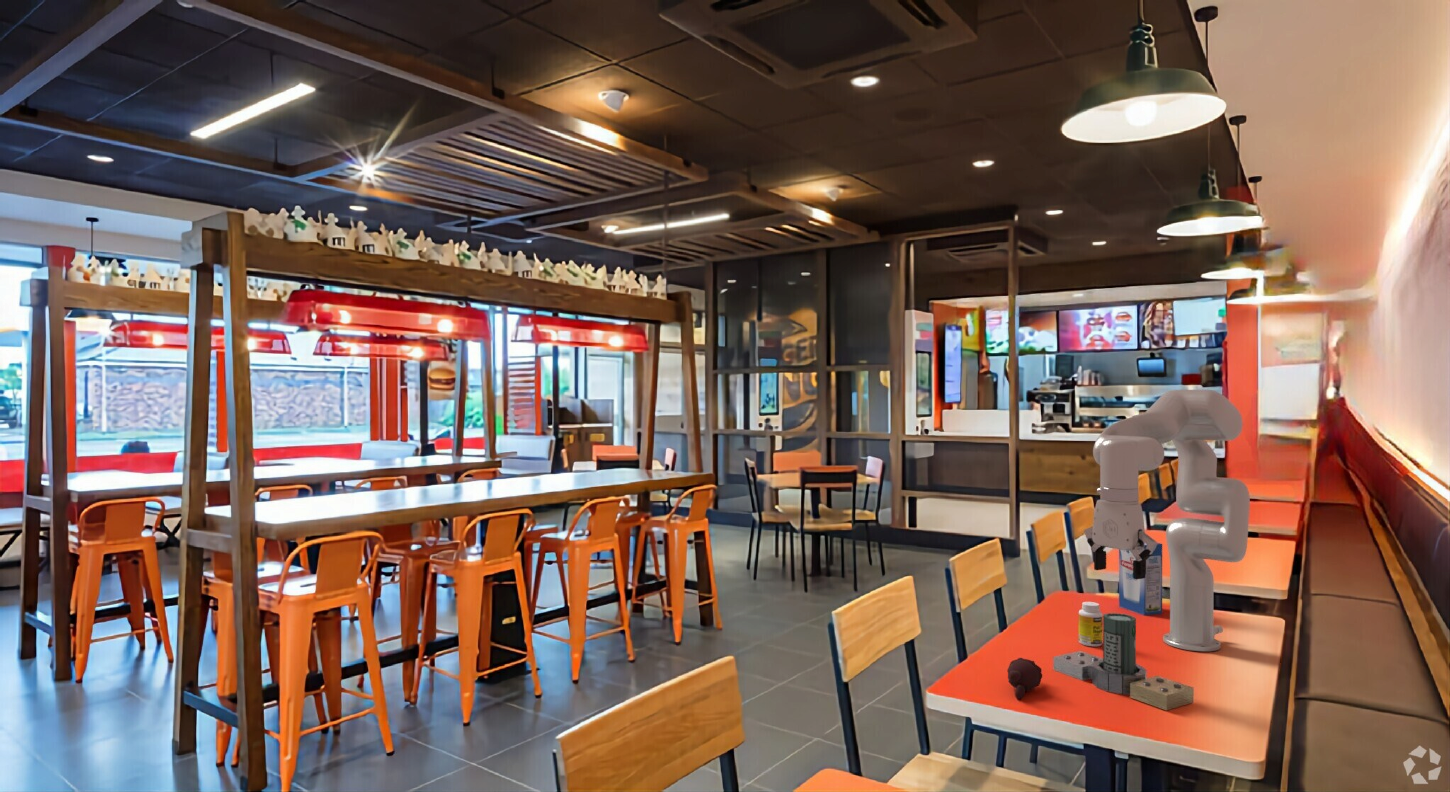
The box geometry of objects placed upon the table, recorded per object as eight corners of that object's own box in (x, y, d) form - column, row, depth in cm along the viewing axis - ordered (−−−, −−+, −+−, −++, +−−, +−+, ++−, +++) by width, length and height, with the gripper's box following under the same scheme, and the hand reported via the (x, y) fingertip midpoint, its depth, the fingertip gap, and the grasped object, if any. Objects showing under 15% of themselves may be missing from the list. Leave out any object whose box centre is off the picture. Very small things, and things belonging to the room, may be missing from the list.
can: (1140, 686, 179) (1140, 618, 179) (1124, 692, 176) (1124, 622, 176) (1114, 678, 184) (1114, 611, 184) (1098, 683, 181) (1098, 615, 181)
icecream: (1012, 647, 187) (992, 672, 175) (1045, 644, 183) (1027, 670, 170) (1021, 677, 186) (1001, 704, 174) (1054, 675, 182) (1036, 703, 170)
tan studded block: (1157, 689, 177) (1157, 674, 177) (1193, 701, 170) (1193, 686, 170) (1130, 697, 173) (1130, 681, 173) (1166, 710, 166) (1166, 694, 166)
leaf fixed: (1082, 663, 195) (1082, 646, 195) (1156, 689, 178) (1156, 670, 178) (1051, 670, 190) (1051, 652, 190) (1124, 697, 173) (1124, 678, 173)
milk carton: (1162, 613, 236) (1162, 543, 236) (1144, 615, 235) (1144, 545, 234) (1136, 604, 246) (1136, 537, 246) (1118, 606, 244) (1118, 538, 244)
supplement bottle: (1094, 648, 205) (1094, 607, 205) (1073, 642, 210) (1074, 602, 210) (1107, 644, 208) (1107, 604, 208) (1086, 639, 213) (1087, 599, 213)
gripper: (1074, 492, 186) (1074, 568, 187) (1143, 501, 171) (1143, 584, 171) (1097, 489, 190) (1097, 564, 190) (1167, 499, 174) (1167, 580, 175)
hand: (1119, 573), depth 181 cm, fingers open, 9 cm apart
